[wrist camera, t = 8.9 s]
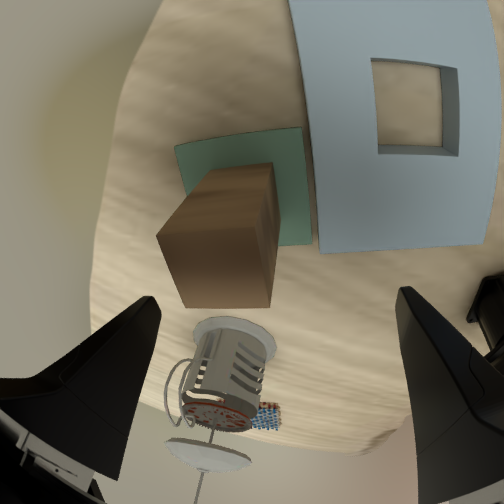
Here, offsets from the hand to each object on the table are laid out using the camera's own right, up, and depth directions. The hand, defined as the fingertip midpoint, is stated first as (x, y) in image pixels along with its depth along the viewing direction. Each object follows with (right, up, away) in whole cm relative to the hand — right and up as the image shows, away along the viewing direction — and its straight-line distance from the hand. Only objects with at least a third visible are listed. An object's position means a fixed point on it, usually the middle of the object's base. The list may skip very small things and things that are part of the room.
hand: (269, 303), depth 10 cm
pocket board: (+10, +12, +5) cm, 16 cm away
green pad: (-1, +6, +11) cm, 13 cm away
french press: (-3, -8, +21) cm, 23 cm away
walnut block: (-1, +6, +11) cm, 12 cm away
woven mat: (-1, -25, +34) cm, 42 cm away
